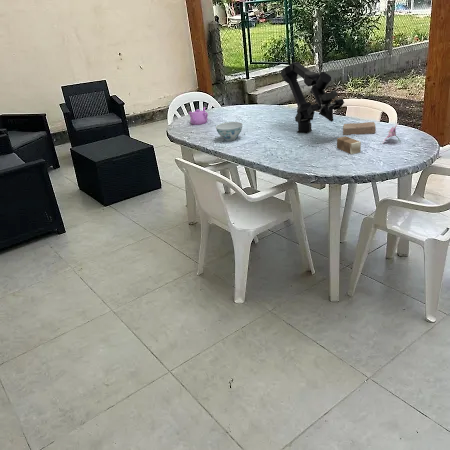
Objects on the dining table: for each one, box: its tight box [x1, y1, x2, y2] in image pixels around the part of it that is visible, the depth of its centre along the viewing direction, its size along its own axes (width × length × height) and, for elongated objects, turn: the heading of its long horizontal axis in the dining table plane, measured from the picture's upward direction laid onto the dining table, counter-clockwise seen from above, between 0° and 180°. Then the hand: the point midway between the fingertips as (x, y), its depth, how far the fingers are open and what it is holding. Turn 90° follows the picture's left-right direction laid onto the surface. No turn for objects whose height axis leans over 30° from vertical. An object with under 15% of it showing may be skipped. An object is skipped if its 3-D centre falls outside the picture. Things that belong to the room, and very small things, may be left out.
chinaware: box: [215, 121, 243, 142], centre depth 252 cm, size 15×15×8 cm
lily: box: [382, 121, 401, 144], centre depth 218 cm, size 12×12×10 cm
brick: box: [342, 121, 377, 136], centre depth 238 cm, size 17×8×5 cm, turn 78°
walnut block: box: [336, 135, 362, 155], centre depth 214 cm, size 5×5×12 cm
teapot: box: [188, 106, 209, 126], centre depth 292 cm, size 12×14×9 cm
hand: (332, 121), depth 222 cm, fingers closed
